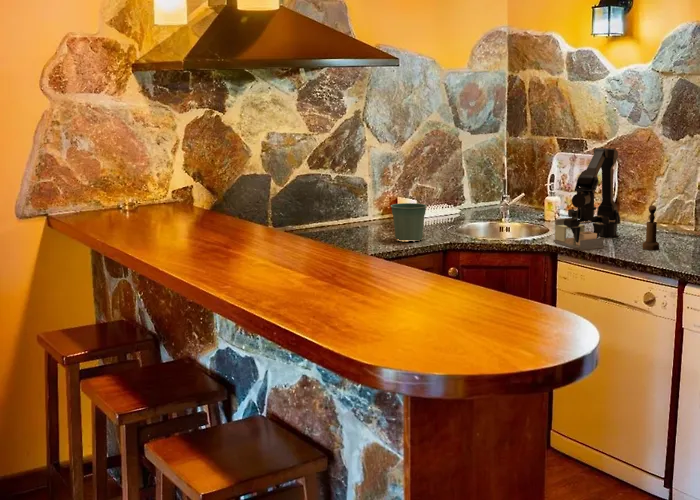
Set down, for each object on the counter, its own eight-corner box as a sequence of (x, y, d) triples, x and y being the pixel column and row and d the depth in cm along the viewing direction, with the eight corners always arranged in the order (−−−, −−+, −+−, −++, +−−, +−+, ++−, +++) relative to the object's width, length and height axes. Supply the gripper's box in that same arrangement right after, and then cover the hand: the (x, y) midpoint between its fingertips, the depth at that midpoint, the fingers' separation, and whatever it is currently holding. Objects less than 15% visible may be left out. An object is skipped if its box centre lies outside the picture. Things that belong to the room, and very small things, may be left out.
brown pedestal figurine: (639, 247, 339) (641, 204, 336) (654, 246, 340) (656, 204, 336) (646, 250, 333) (648, 206, 329) (662, 250, 333) (664, 206, 330)
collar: (588, 242, 346) (588, 231, 345) (596, 245, 340) (596, 233, 339) (575, 244, 344) (576, 232, 343) (584, 246, 339) (584, 234, 338)
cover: (574, 237, 358) (575, 217, 356) (584, 239, 352) (584, 219, 350) (555, 239, 355) (555, 219, 353) (564, 241, 349) (564, 221, 347)
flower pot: (419, 236, 380) (418, 201, 377) (433, 242, 364) (432, 206, 361) (386, 239, 375) (385, 204, 372) (398, 245, 360) (397, 209, 357)
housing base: (575, 240, 359) (575, 230, 358) (603, 248, 340) (603, 237, 339) (553, 242, 356) (553, 232, 355) (580, 250, 337) (580, 240, 336)
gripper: (594, 200, 349) (593, 236, 352) (556, 203, 344) (556, 240, 347) (610, 203, 339) (609, 240, 342) (571, 207, 333) (571, 244, 336)
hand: (586, 241), depth 342 cm, fingers open, 8 cm apart
